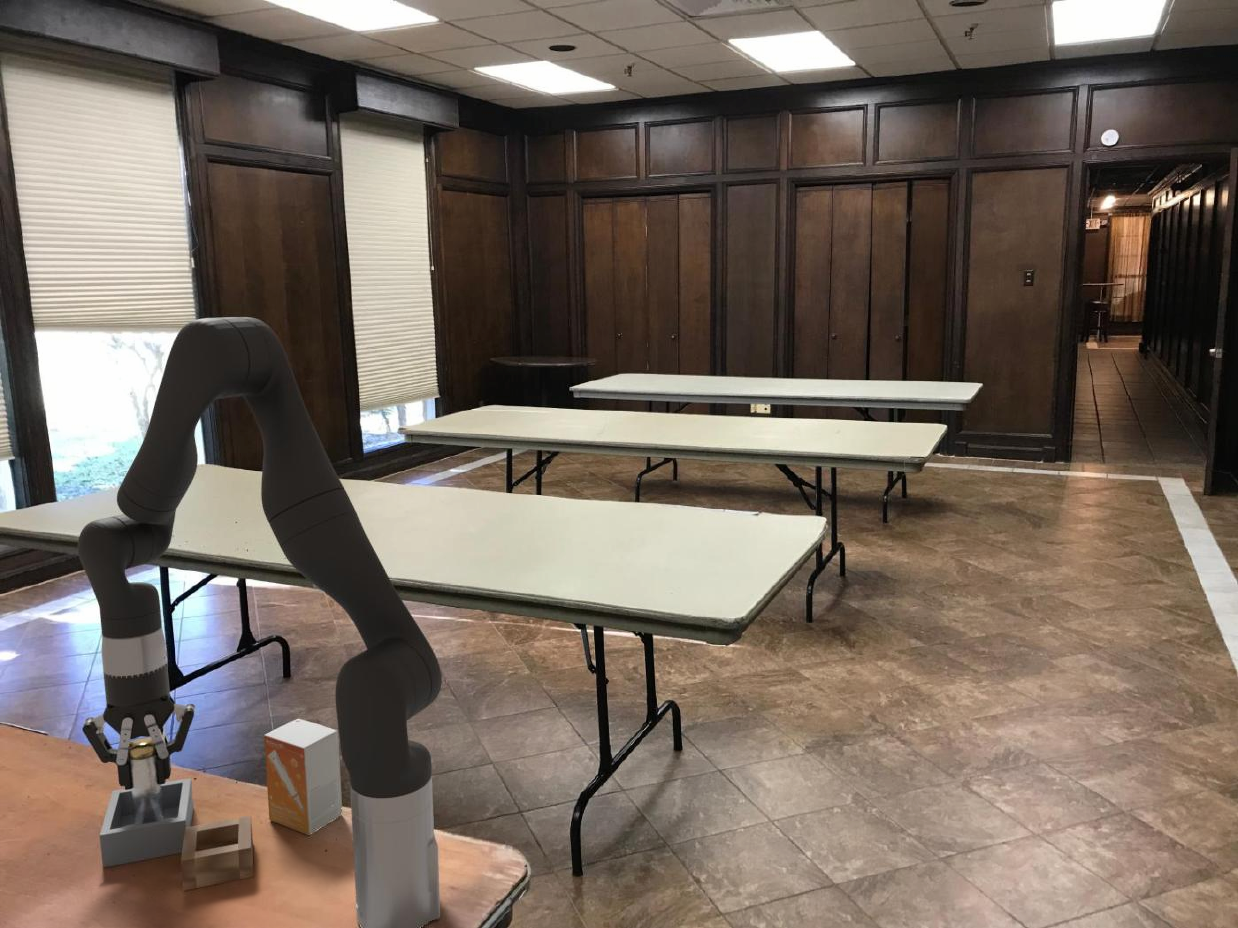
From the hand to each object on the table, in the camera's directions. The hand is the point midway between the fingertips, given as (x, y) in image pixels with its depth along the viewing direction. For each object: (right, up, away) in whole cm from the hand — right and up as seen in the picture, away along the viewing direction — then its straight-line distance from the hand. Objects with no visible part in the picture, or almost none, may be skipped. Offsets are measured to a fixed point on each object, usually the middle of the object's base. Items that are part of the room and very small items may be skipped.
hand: (146, 783), depth 127 cm
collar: (+12, -9, -6) cm, 16 cm away
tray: (0, -8, +1) cm, 8 cm away
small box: (+20, -7, +6) cm, 22 cm away
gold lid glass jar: (0, -5, +1) cm, 5 cm away
